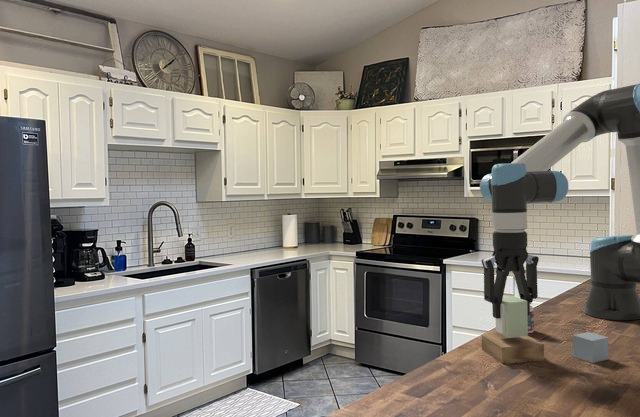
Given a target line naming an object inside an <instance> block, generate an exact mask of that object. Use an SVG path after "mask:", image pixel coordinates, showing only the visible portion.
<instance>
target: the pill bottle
mask: <svg viewBox="0 0 640 417" xmlns="http://www.w3.org/2000/svg"><path fill="white" fill-rule="evenodd" d="M516 297H517V298H520V296H516ZM531 305H532V303H530V314H529V315H527V316H528V334H532V333H534V332H535V318H534V315H535V314H534V312H535V311H534V307H533V306H531Z"/></svg>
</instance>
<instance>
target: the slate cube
mask: <svg viewBox="0 0 640 417" xmlns="http://www.w3.org/2000/svg"><path fill="white" fill-rule="evenodd" d="M572 350H573V351H572V355H573V357H574V358H577V359H579V360H583V361H586V362H588V363H591V364H595V363H599V362H602V361H606V360H607V361H608V360H609V337H608V336H604V335H601V334H599V333H598V334H597V333H593V332H590V331H587V332H583V333H577V334H573V335H572Z"/></svg>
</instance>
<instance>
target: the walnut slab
mask: <svg viewBox="0 0 640 417" xmlns="http://www.w3.org/2000/svg"><path fill="white" fill-rule="evenodd" d="M481 351H483V352H484V353H485V354H487V355H489V356H490V357H491V358H493V359H494V360H496V361H497V362H499V363H500V362H501V363H500V364H502V363H506V364H514V363H515V362H517V363H527V361H529V362H538V361H545V344H544V343H543V342H541V341H539V340H538V339H537V340H536V339H535V338H533V337H531V336H529V335H528V336H520V337H512V338H508V337H505V336H503V335H501V334H499V333H494V334H493V333H491V334H481Z"/></svg>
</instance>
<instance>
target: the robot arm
mask: <svg viewBox="0 0 640 417" xmlns="http://www.w3.org/2000/svg"><path fill="white" fill-rule="evenodd" d="M611 133H617V139H618V141H619V142H621V143H622V144H623V145H625V150H626V158H627V166H628V175H629V183H630V189H631V190H630V192H631V197H632V198H631V199H632V207H633V213H634V220H635V230H636V231H635V233H634V234H628V235H627V234H625V235H612V236H601V237H595V238H593V239H592V240H591V241H590V251H589V257H590V259H589V260H590V263H589V264H590V289H589V291H588V296H587V298H586V302H585V303H584V313H585V314H586V315H588V316H591V317H592V318H593V317H595V318H598V319H603V320H604V319H605V320H612V321H613V320H614V321H634V320H640V296H639V293H638V291H637V284H640V83H636V84H632V85H627V86H622V87H617V88H613V89H612V88H611V89H607V90H603V91H600V92H598V93H596V94H595V95H592V96H591V97H589V98H587V99H586V100H584V101H583V102H581V103H579V105H576V106H575V107H574V108H572V110H570V111H569V112H568V113H566V115H565V116H564V117H563V119H562V122H561V123H559V125H557V126H556V127H555V128H554V129H552V130H551V131H550V132H549V133H547V134H546V135H544V136H543V137H542V138H541V139H539V140H538V141H537V142H536V143H535V144H533V145H532V146H531V147H529V148H528V149H527V150H525V151H524V152H523V153H522V154H520V155H519V156H518V157H516V158H515V159H514V160H513V161H511V163H509V162H508V163H497V164H494V165H493V166H492V168H491V173H488V174H486V175H483V177H482V178H481V180H480V183H479V191H480V193H481V196H482V198H484V199H485V200H486V201H487V202H488V201H489V202H491V212H492V229H493V230H494V231H493V232H492V247H493V252H492V255H491V256H490V257H488V258H482V259H481V264H482V267H483V300H484V301H486V302H488V303H491V305H492V306H491V307H492V316H493V318H495V332H496V331H498V332H500V333H502V334H503V333H505V305H503V304H501V303H502V299H503V298H504V294H505V288H506V284H507V278H508V276H509V275H510V272H512V274H513V276H514V280H515V283H516V286H517V292H518V295H519V296H518V297H520V299H523V300H526V301H527V315H529V314H530V306H531V304H532V303H533V302H534V300H535V299H537V298H538V297H539V296H538V294H539V292H538V291H539V290H538V264H539V261H540V260H539V259H540V258H539V256H537V255H533V254H529V253H528V250H527V248H528V232H527V231H525V230H527V229H528V214H527V213H528V212H527V211H528V209H527V208H528V204H544V203H547V204H548V203H549V204H552V203H557V202H560V201H562V200H564V199H565V197H566V196H567V194H568V192H569V180H568V178H567V177H566V175H565V174H564V173H562V172H561V171H559V170H558V171H557V170H549V169H551V168H553V166H555V165H556V164H557V163H558V162H560V161H561V160H562V159H563V158H564V157H565V156H567V155H568V154H569V153H571V152H572V151H573V150H574V149H576V148H577V147H578V146H580V144H583V143H588V142H590V141H592V140H593V139H594V138H595V137H598V136H601V135H604V134H611ZM495 265H496V266H495ZM494 267H496V270H495V268H494ZM495 274H496V276H495ZM530 303H531V304H530Z"/></svg>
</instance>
